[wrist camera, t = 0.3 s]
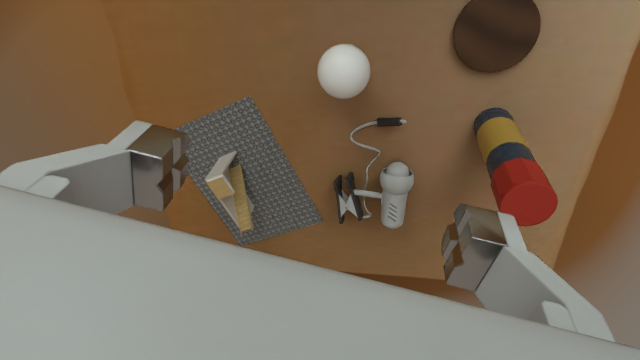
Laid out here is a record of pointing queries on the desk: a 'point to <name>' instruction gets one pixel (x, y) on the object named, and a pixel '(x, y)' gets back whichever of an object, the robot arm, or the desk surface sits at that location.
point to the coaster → (496, 33)
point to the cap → (523, 191)
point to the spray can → (499, 138)
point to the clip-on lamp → (392, 181)
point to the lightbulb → (343, 71)
